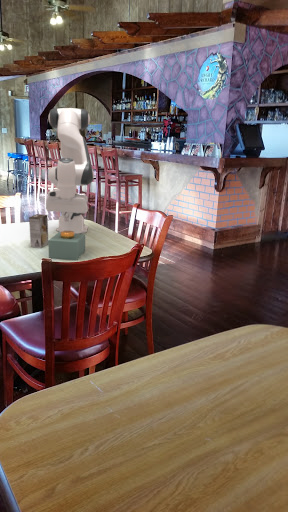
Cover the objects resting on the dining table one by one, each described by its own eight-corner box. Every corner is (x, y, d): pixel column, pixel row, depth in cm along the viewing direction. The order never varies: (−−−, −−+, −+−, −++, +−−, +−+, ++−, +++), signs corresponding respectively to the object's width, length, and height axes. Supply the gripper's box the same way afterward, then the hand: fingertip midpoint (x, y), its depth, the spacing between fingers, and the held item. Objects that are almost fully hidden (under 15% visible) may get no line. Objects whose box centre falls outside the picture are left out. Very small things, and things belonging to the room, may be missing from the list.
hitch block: (59, 248, 219) (58, 232, 216) (85, 250, 217) (85, 234, 214) (49, 258, 203) (48, 240, 201) (77, 260, 202) (76, 242, 199)
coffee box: (37, 242, 228) (36, 213, 224) (48, 243, 227) (47, 214, 222) (30, 247, 220) (28, 217, 215) (41, 248, 219) (40, 218, 214)
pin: (63, 250, 213) (62, 230, 210) (75, 251, 213) (75, 231, 210) (59, 253, 207) (58, 233, 204) (72, 254, 207) (72, 234, 203)
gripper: (89, 193, 203) (89, 221, 207) (48, 190, 205) (49, 218, 209) (86, 195, 197) (86, 223, 201) (44, 192, 199) (45, 221, 203)
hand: (67, 221), depth 205 cm, fingers closed
